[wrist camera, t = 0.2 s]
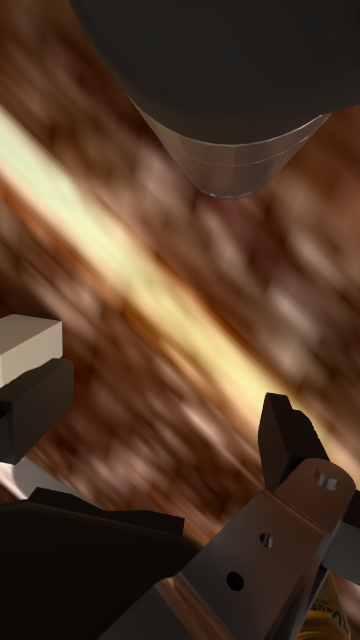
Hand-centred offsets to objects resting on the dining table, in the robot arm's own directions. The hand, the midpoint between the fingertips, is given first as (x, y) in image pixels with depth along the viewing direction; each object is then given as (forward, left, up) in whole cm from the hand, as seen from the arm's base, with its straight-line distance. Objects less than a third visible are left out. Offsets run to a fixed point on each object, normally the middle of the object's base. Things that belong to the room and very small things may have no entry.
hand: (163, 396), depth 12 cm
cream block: (+6, -17, -18) cm, 25 cm away
